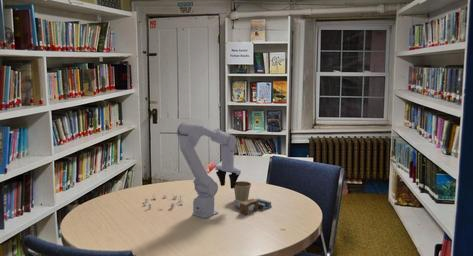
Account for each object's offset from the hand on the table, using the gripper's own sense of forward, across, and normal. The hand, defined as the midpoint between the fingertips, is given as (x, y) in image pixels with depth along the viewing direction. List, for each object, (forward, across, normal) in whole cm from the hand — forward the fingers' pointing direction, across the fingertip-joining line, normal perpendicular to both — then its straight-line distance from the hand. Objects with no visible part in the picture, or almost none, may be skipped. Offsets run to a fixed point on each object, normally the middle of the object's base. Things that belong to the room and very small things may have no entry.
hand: (227, 186), depth 209 cm
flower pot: (+10, 0, -10) cm, 14 cm away
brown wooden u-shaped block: (+9, -13, 0) cm, 16 cm away
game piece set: (+10, +26, +18) cm, 33 cm away
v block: (+9, -13, -9) cm, 18 cm away
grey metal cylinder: (+8, -10, -1) cm, 13 cm away
